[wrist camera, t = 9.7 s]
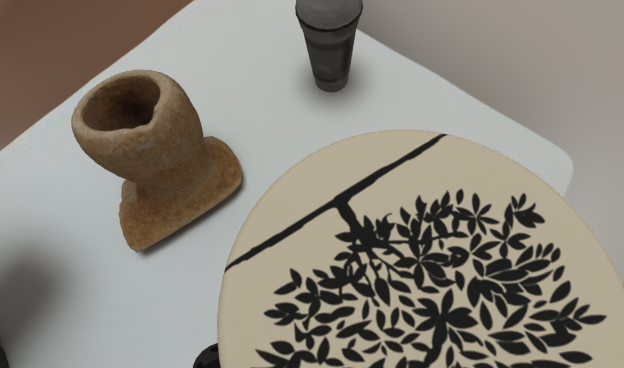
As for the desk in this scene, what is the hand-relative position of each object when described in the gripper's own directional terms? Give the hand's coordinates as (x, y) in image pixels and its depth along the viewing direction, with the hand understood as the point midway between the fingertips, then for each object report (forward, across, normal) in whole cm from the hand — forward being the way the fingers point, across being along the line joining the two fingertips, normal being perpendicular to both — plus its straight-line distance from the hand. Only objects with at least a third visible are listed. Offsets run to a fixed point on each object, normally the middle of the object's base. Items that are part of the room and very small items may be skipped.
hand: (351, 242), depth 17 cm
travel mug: (+3, 0, -8) cm, 9 cm away
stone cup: (+26, -17, -3) cm, 31 cm away
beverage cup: (+33, +5, +5) cm, 34 cm away
